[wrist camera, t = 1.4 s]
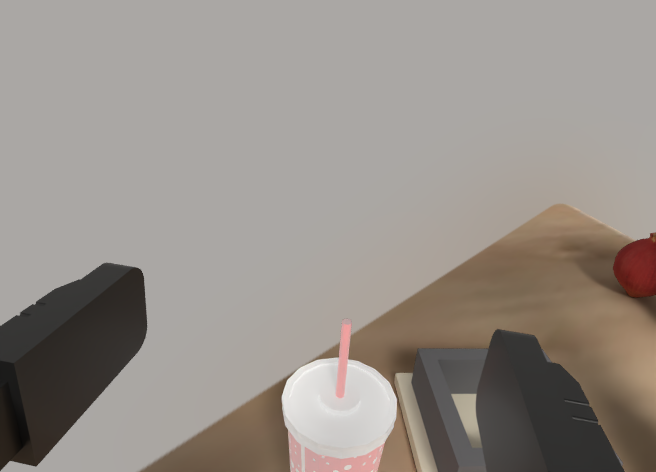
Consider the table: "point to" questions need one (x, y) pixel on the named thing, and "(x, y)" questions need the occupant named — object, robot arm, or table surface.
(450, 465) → the grey tray on board
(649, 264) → the onion
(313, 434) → the beverage cup
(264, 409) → the table surface
